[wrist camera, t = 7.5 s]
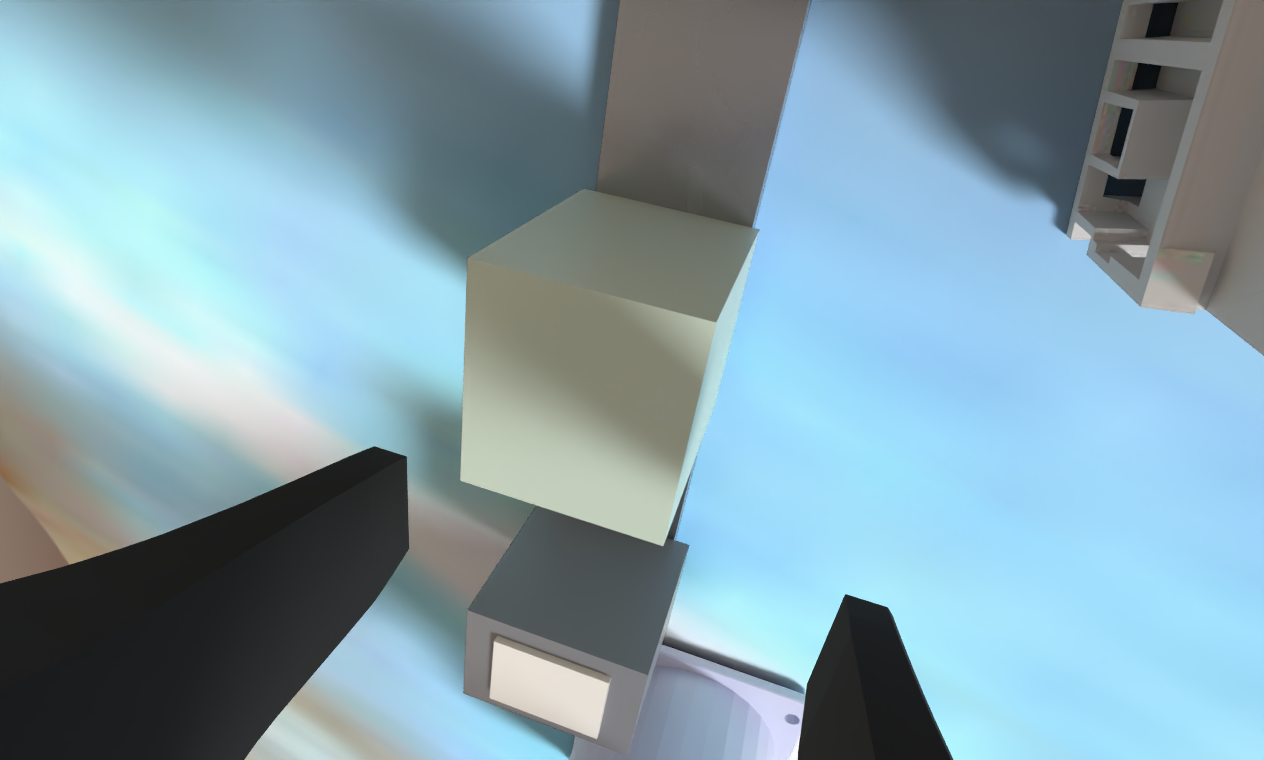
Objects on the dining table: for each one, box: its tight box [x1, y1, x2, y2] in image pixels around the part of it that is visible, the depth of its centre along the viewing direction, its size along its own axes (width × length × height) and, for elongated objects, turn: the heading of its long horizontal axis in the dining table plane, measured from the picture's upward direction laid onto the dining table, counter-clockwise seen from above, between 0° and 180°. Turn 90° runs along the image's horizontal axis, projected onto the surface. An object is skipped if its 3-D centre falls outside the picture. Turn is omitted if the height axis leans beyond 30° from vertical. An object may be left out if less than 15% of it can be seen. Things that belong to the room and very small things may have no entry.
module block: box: [460, 189, 760, 546], centre depth 15 cm, size 5×5×6 cm
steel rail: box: [596, 0, 811, 540], centre depth 18 cm, size 24×4×1 cm, turn 171°
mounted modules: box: [463, 506, 689, 756], centre depth 16 cm, size 22×5×5 cm, turn 171°
